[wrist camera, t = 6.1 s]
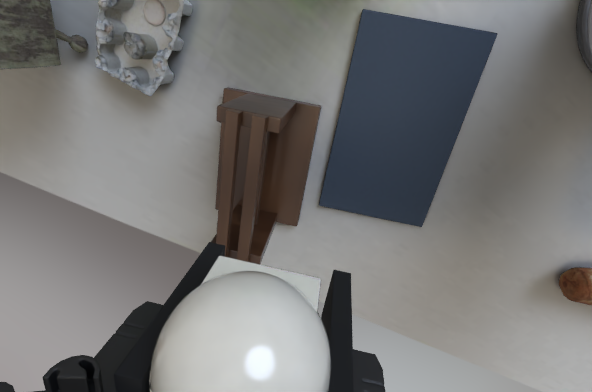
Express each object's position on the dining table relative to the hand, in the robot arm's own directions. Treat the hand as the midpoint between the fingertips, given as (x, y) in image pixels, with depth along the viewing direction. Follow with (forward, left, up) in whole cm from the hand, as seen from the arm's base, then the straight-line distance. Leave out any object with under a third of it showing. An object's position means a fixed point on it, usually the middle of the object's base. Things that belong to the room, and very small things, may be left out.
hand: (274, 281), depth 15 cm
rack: (+5, +2, -22) cm, 23 cm away
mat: (-8, -4, -22) cm, 24 cm away
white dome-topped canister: (0, 0, +3) cm, 3 cm away
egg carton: (+18, -9, -23) cm, 30 cm away
